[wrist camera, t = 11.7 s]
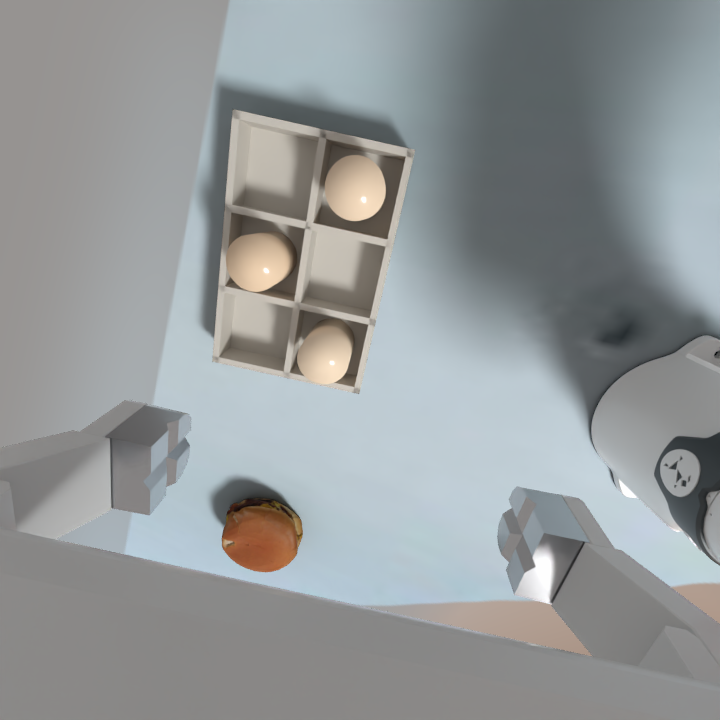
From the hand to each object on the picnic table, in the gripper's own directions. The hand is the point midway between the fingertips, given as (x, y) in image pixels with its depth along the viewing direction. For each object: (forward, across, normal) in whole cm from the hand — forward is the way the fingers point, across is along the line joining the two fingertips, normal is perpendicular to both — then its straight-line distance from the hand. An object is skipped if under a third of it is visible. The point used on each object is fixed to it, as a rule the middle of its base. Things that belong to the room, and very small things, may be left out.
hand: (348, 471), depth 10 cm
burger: (+32, +7, +33) cm, 46 cm away
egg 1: (+30, +10, 0) cm, 32 cm away
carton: (+31, +7, 0) cm, 32 cm away
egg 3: (+30, +3, -7) cm, 31 cm away
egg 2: (+30, +3, +7) cm, 31 cm away
